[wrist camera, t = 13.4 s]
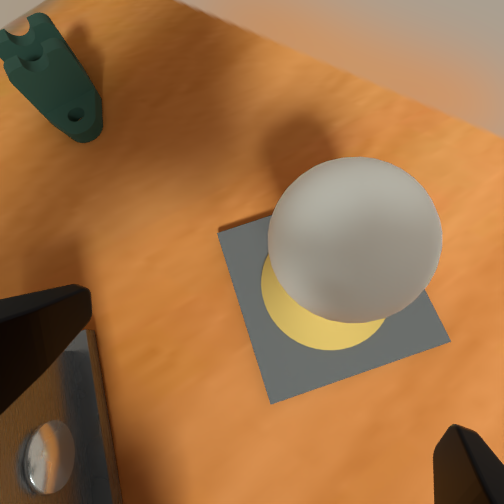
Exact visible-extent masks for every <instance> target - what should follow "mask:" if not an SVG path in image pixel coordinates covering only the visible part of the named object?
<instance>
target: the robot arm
mask: <svg viewBox="0 0 504 504" xmlns="http://www.w3.org/2000/svg"><path fill="white" fill-rule="evenodd" d="M91 317H92V303H91V292H90V290H89V289H88V288H86V287H83V286H80V285H77V284H71V285H66V286H62V287H57V288H52V289H47V290H43V291H38V292H33V293H28V294H24V295H19V296H14V297H9V298H5V299H0V415H1V414H2V413H3V412H4V411H5V410H7V409H8V408H9V407H10V406H11V405H12V404H13V403H14V402H15V401H16V400H17V399H18V398H19V397H20V396H21V395H22V394H23V393H24V392H25V391H26V390H27V389H28V388H29V387H30V386H31V385H32V384H33V383H34V382H35V381H36V380H37V379H38V378H39V377H40V376H41V375H42V374H43V373H44V372H45V371H46V370H47V369H48V368H49V367H50V366H51V365H52V364H53V363H54V362H55V361H56V359H57V358H58V357H59V356H60V355H61V354H62V352H63V351H64V350H65V349H66V348H67V347H68V346H69V344H70V343H71V342H72V341H73V340H74V339H75V337H76V336H77V335H78V334H79V333H80V332H81V330H82V329H83V328H84V327H85V326H86V325H87V323H88V322H89V321H90V319H91ZM433 473H434V504H504V465H503V464H502V462H501V461H500V460H499V459H498V457H497V456H496V455H495V454H494V453H493V451H492V450H491V449H490V448H489V446H488V445H487V444H486V443H485V442H484V440H483V439H482V438H481V437H480V435H479V434H478V433H476V432H475V431H473V430H471V429H468V428H465V427H463V426H460V425H457V424H453V425H451V426H450V427H449V428H448V429H447V431H446V432H445V434H444V435H443V437H442V438H441V440H440V441H439V442H438V444H437V445H436V447H435V450H434V454H433Z"/></svg>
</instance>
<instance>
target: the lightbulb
mask: <svg viewBox="0 0 504 504" xmlns="http://www.w3.org/2000/svg"><path fill="white" fill-rule="evenodd" d="M441 250H442V228H441V223H440V218H439V216H438V213H437V211H436V208H435V206H434V204H433V201H432V199H431V198H430V196H429V195H428V193H427V192H426V191H425V189H424V188H423V187H422V186H421V185H420V184H419V183H418V182H417V181H416V180H415V178H414V177H412V176H411V175H409V174H408V173H407V172H405V171H404V170H402V169H401V168H399V167H396V166H394V165H392V164H390V163H388V162H385V161H381V160H378V159H374V158H366V157H346V158H339V159H334V160H330V161H326V162H324V163H321V164H319V165H316V166H314V167H312V168H311V169H309V170H308V171H306V172H305V173H303V174H302V175H301V176H299V177H298V178H297V179H296V180H295V181H294V182H293V183H292V184H291V185H290V186H289V187H288V188H287V189H286V190H285V192H284V193H283V195H282V196H281V198H280V199H279V201H278V203H277V205H276V207H275V209H274V212H273V214H272V216H271V219H270V224H269V230H268V253H269V257H270V261H271V266H272V269H273V271H274V273H275V275H276V277H277V279H278V281H279V283H280V284H281V286H282V287H283V288H284V290H285V291H286V292H287V294H288V295H289V296H290V297H291V298H293V299H294V300H295V301H296V302H297V303H298V304H299V305H300V306H302V307H303V308H305V309H307V310H308V311H310V312H311V313H313V314H315V315H318V316H320V317H323V318H325V319H328V320H331V321H337V322H342V323H366V322H370V321H375V320H379V319H383V318H386V317H388V316H391V315H393V314H395V313H397V312H399V311H401V310H402V309H404V308H405V307H406V306H408V305H409V304H410V303H412V302H413V301H414V300H415V299H416V298H417V297H418V296H419V295H420V294H421V292H422V291H423V290H424V289H425V288H426V287H427V285H428V284H429V282H430V281H431V279H432V277H433V275H434V273H435V271H436V269H437V265H438V262H439V258H440V254H441Z"/></svg>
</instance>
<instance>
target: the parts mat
mask: <svg viewBox="0 0 504 504" xmlns="http://www.w3.org/2000/svg"><path fill="white" fill-rule="evenodd" d="M271 216H272V215H271ZM271 216H268V217H265V218H262V219H259V220H256V221H253V222H249V223H246V224H243V225H240V226H237V227H234V228H231V229H228V230H225V231H222V232H219V233H217V235H218V238H219V241H220V244H221V247H222V251H223V254H224V257H225V260H226V263H227V267H228V270H229V273H230V276H231V279H232V282H233V286H234V289H235V292H236V295H237V298H238V302H239V305H240V308H241V311H242V314H243V318H244V321H245V324H246V327H247V330H248V333H249V337H250V340H251V343H252V346H253V349H254V353H255V356H256V359H257V362H258V365H259V369H260V372H261V375H262V378H263V381H264V384H265V388H266V391H267V394H268V397H269V400H270V404H274V403H277V402H279V401H282V400H285V399H288V398H291V397H294V396H297V395H299V394H302V393H305V392H308V391H311V390H314V389H317V388H320V387H322V386H325V385H328V384H331V383H334V382H337V381H340V380H342V379H345V378H348V377H351V376H354V375H357V374H360V373H362V372H365V371H368V370H371V369H374V368H377V367H380V366H382V365H385V364H388V363H391V362H394V361H397V360H400V359H402V358H405V357H408V356H411V355H414V354H417V353H420V352H423V351H425V350H428V349H431V348H434V347H437V346H440V345H443V344H445V343H448V342H451V340H450V338H449V336H448V334H447V332H446V330H445V328H444V326H443V325H442V323H441V321H440V319H439V317H438V315H437V313H436V311H435V309H434V307H433V305H432V303H431V301H430V299H429V297H428V295H427V293H426V291H425V289H424V290H423V291H422V292H421V294H420V295H419V296H418V297H417V298H416V299H415V300H414V301H413V302H412V303H410V304H409V305H408V306H406V307H405V308H404V309H402V310H401V311H399V312H397V313H395V314H393V315H391V316H388V317H386V318H383V319H379V320H375V321H370V322H366V323H342V322H337V321H331V320H328V319H325V318H323V317H320V316H318V315H315V314H313V313H311V312H310V311H308V310H307V309H305V308H303V307H302V306H300V305H299V304H298V303H297V302H296V301H295V300H294V299H293V298H291V297H290V296H289V295H288V294H287V292H286V291H285V290H284V288H283V287H282V286H281V284H280V283H279V281H278V279H277V277H276V275H275V273H274V271H273V269H272V266H271V261H270V257H269V253H268V230H269V224H270V219H271Z"/></svg>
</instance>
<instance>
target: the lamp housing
mask: <svg viewBox="0 0 504 504" xmlns="http://www.w3.org/2000/svg"><path fill="white" fill-rule="evenodd" d="M0 504H123V501H122V495H121V489H120V483H119V477H118V471H117V465H116V459H115V453H114V447H113V440H112V434H111V428H110V422H109V416H108V410H107V404H106V398H105V392H104V386H103V380H102V373H101V367H100V361H99V355H98V349H97V343H96V337H95V331H94V330H86V329H85V330H82V331H81V332H80V333H79V334H78V335H77V336H76V337H75V339H74V340H73V341H72V342H71V343H70V344H69V346H68V347H67V348H66V349H65V350H64V351H63V352H62V354H61V355H60V356H59V357H58V358H57V359H56V361H55V362H54V363H53V364H52V365H51V366H50V367H49V368H48V369H47V370H46V371H45V372H44V373H43V374H42V375H41V376H40V377H39V378H38V379H37V380H36V381H35V382H34V383H33V384H32V385H31V386H30V387H29V388H28V389H27V390H26V391H25V392H24V393H23V394H22V395H21V396H20V397H19V398H18V399H17V400H16V401H15V402H14V403H13V404H12V405H11V406H10V407H9V408H8V409H7V410H5V411H4V412H3V413H2V414H1V415H0Z"/></svg>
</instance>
